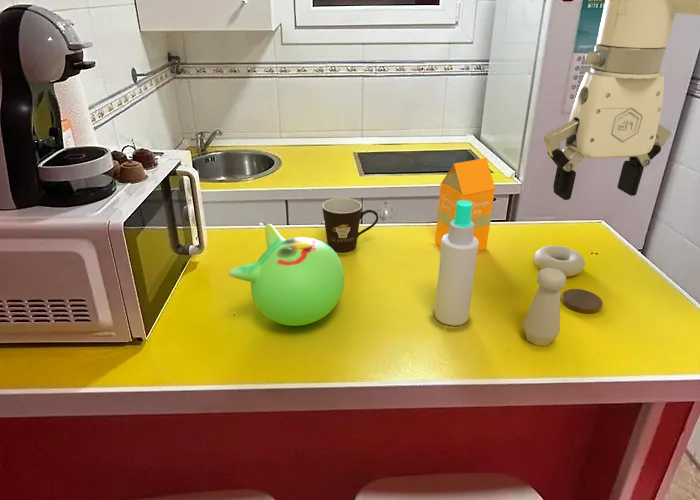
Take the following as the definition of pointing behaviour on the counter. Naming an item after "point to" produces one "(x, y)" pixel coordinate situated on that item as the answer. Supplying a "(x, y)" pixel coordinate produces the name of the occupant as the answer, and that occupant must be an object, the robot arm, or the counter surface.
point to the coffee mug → (343, 223)
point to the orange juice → (467, 198)
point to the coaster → (581, 301)
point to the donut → (560, 260)
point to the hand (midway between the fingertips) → (594, 194)
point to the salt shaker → (545, 308)
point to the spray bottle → (457, 268)
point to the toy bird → (294, 279)
